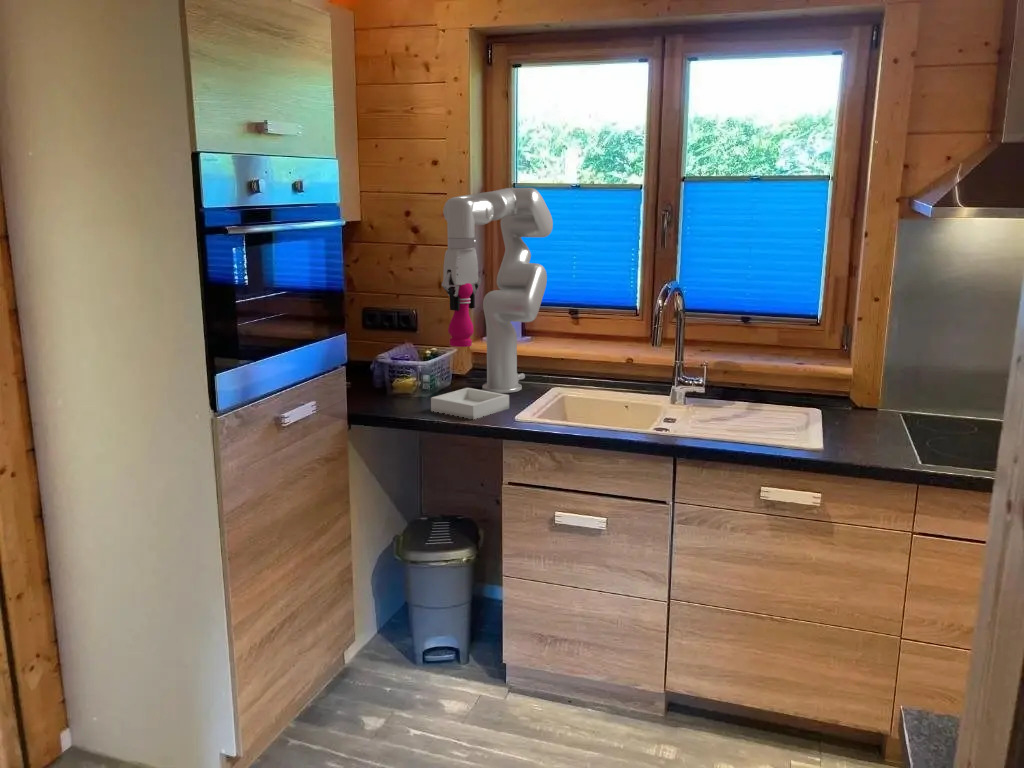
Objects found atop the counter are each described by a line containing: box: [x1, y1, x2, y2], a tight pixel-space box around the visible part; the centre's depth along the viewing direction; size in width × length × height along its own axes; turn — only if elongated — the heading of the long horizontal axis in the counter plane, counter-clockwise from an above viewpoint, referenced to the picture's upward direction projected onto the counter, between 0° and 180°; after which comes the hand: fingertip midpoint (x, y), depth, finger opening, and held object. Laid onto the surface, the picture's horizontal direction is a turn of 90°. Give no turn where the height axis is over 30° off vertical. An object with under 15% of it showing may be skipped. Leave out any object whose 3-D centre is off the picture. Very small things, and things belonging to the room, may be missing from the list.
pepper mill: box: [447, 283, 474, 348], centre depth 236 cm, size 7×7×20 cm
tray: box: [430, 387, 510, 421], centre depth 241 cm, size 16×16×4 cm
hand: (462, 308), depth 236 cm, fingers closed on pepper mill, 5 cm apart
